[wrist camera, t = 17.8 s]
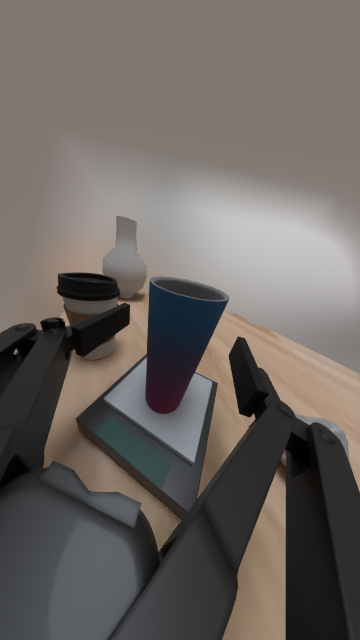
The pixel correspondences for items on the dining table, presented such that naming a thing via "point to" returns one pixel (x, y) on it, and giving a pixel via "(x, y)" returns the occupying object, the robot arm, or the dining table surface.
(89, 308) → the coffee cup
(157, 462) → the scale
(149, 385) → the cup
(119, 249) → the vase
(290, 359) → the dining table surface
